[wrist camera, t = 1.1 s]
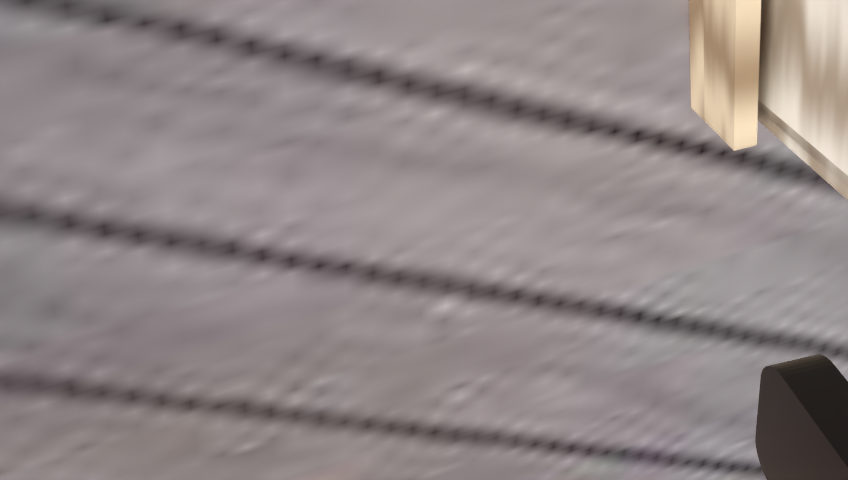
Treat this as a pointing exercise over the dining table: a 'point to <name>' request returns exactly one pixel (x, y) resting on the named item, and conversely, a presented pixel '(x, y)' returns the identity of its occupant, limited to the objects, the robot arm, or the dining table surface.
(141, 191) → the dining table surface
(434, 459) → the dining table surface
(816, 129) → the game board
